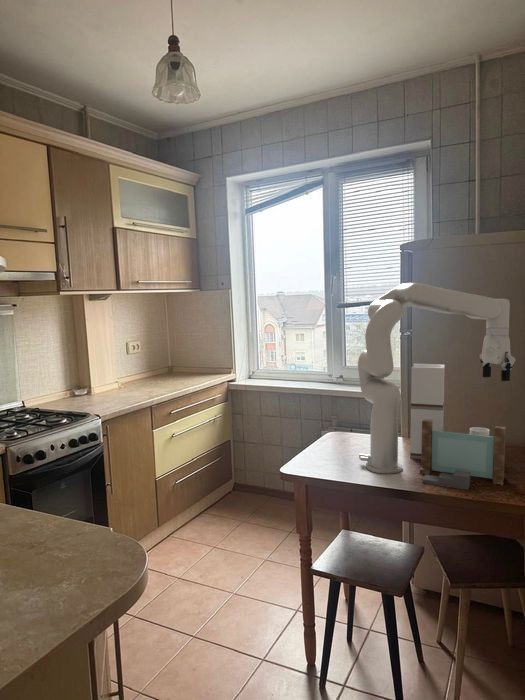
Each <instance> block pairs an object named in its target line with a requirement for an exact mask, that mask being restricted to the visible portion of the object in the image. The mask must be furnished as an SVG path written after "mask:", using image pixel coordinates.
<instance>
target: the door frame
mask: <svg viewBox="0 0 525 700" xmlns="http://www.w3.org/2000/svg"><path fill="white" fill-rule="evenodd" d="M432 421H433V420H427V419H423V420H422V453H421V459H420V460H421V461H420V462H421V463H420V465H421V466H420V468H419V474H420V475H421V474H422V475H431V472H432V471H433V470H432ZM505 449H506V426H501V425H500V426H499V425H495V427H494V454H493V479H492V485H496V484H501V485H500V486H504V482H503V481H504V480H505V452H506V451H505Z"/></svg>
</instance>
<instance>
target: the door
mask: <svg viewBox="0 0 525 700" xmlns="http://www.w3.org/2000/svg"><path fill="white" fill-rule="evenodd" d="M494 441H495V435H494V436H492V435H491V436H490V435H489V436H484V435H475V434H470V433H465V432H464V433H463V432H453V431H445V430H443V431H436V430H433V431H432V470H431V471H436V472H440V473H448V474H454V473H455V470H458V471H465V472H470V477H478V478H479V477H480V478H484V479H492V480H493V473H494Z"/></svg>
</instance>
